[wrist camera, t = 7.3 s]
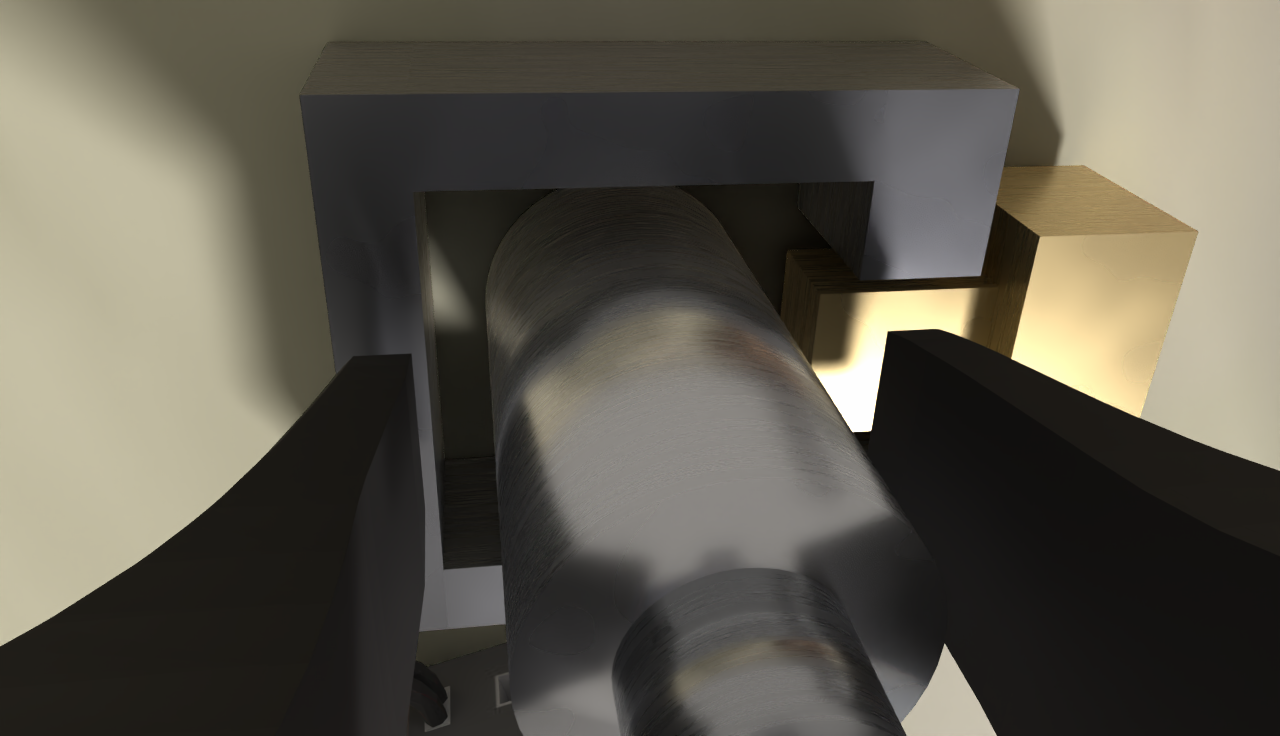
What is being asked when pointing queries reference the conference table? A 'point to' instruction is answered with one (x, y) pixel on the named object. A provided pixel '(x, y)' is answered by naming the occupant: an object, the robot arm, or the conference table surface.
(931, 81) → the block
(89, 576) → the conference table surface
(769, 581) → the silver knobbed cylinder
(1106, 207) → the key
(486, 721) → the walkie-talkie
